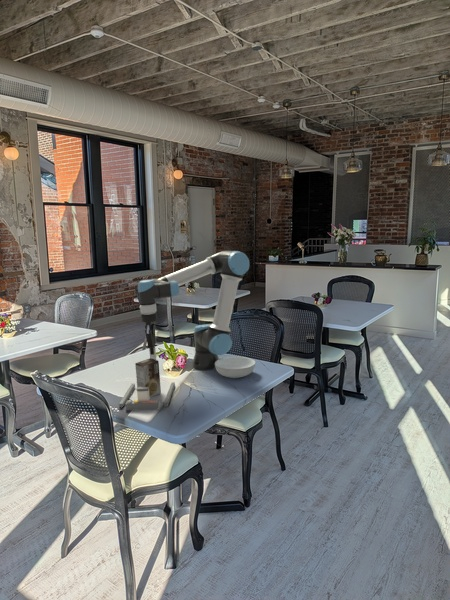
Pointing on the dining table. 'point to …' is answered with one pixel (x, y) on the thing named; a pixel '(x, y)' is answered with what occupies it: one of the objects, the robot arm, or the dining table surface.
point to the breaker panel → (144, 404)
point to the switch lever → (143, 394)
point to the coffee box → (149, 376)
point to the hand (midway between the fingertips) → (153, 360)
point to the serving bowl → (235, 366)
